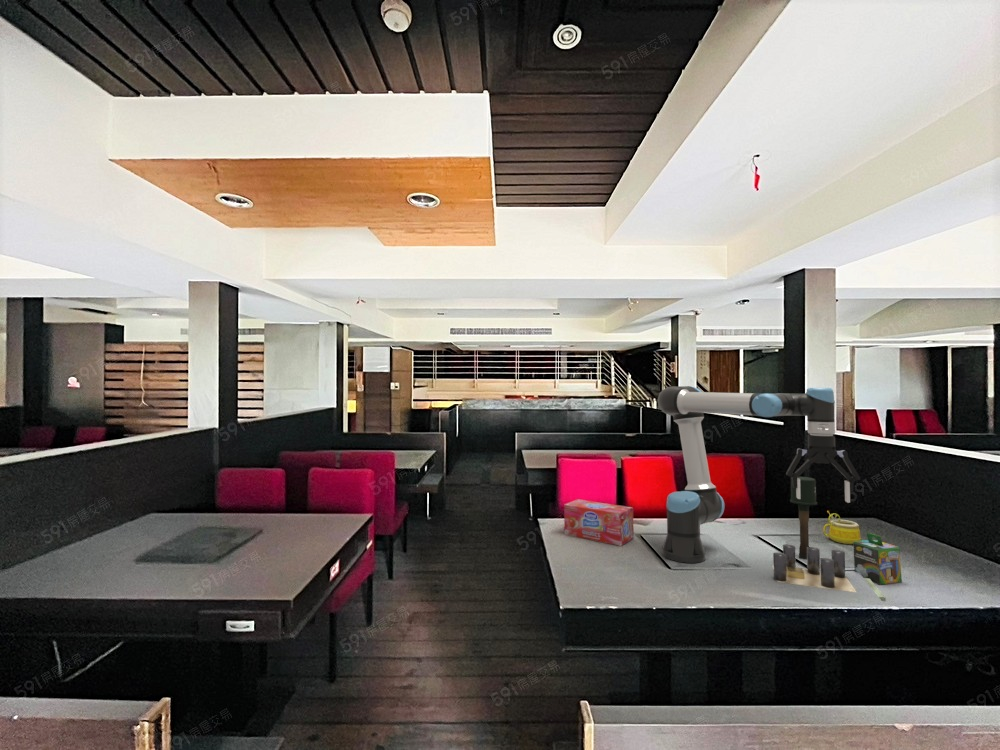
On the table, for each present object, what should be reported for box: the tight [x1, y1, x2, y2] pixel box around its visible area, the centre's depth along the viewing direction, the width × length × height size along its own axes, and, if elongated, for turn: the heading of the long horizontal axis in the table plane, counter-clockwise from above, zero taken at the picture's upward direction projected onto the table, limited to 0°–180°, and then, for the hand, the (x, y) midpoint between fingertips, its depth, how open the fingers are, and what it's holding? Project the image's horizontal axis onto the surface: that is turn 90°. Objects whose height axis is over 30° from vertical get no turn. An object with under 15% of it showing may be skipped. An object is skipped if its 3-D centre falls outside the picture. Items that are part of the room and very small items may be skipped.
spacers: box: [772, 544, 846, 589], centre depth 159 cm, size 22×15×8 cm
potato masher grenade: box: [789, 476, 818, 560], centre depth 180 cm, size 8×9×30 cm
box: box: [563, 498, 635, 547], centre depth 209 cm, size 27×13×14 cm, turn 51°
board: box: [771, 564, 887, 602], centre depth 158 cm, size 28×16×1 cm, turn 66°
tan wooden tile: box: [787, 567, 805, 579], centre depth 161 cm, size 4×4×2 cm
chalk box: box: [852, 532, 903, 586], centre depth 162 cm, size 9×9×15 cm
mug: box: [822, 510, 862, 545], centre depth 203 cm, size 13×11×12 cm
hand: (822, 500), depth 159 cm, fingers open, 13 cm apart
